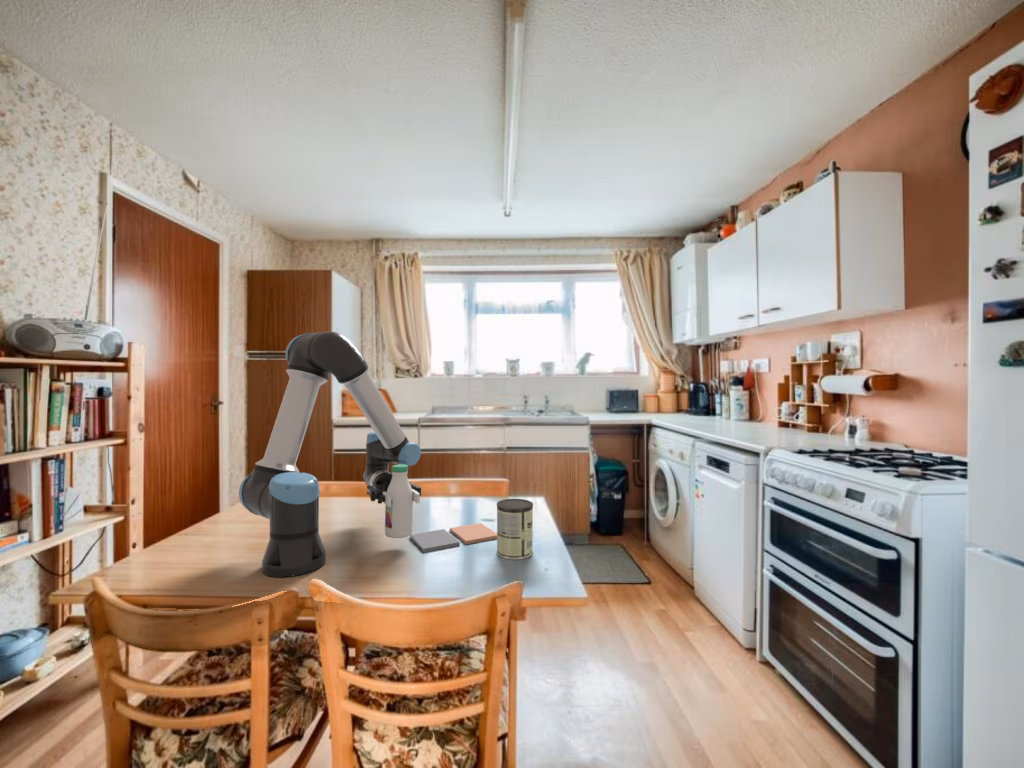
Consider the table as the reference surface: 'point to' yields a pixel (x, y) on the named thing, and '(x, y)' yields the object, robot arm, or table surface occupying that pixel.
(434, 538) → the slate tile
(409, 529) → the milk bottle
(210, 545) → the table surface
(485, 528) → the terracotta tile
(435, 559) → the table surface
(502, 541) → the coffee can
